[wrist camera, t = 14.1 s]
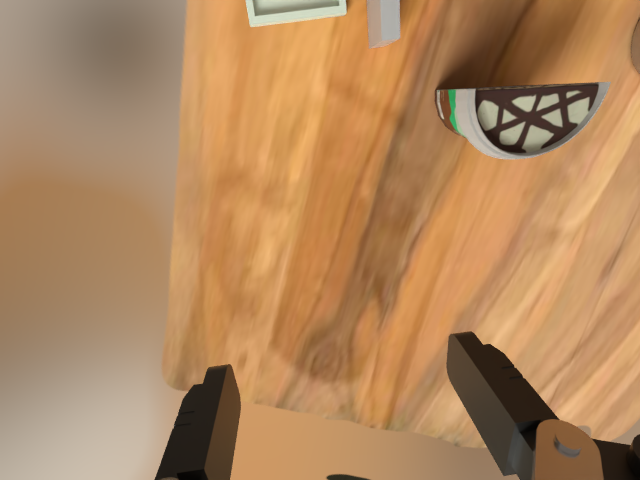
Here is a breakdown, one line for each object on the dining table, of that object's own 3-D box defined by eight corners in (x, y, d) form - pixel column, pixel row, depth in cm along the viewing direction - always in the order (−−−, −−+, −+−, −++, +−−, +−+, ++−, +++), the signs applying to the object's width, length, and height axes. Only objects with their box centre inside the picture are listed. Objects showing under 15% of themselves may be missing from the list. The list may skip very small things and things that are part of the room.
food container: (416, 150, 37) (457, 168, 28) (421, 90, 34) (468, 89, 25) (520, 143, 38) (594, 159, 29) (532, 84, 35) (617, 81, 26)
